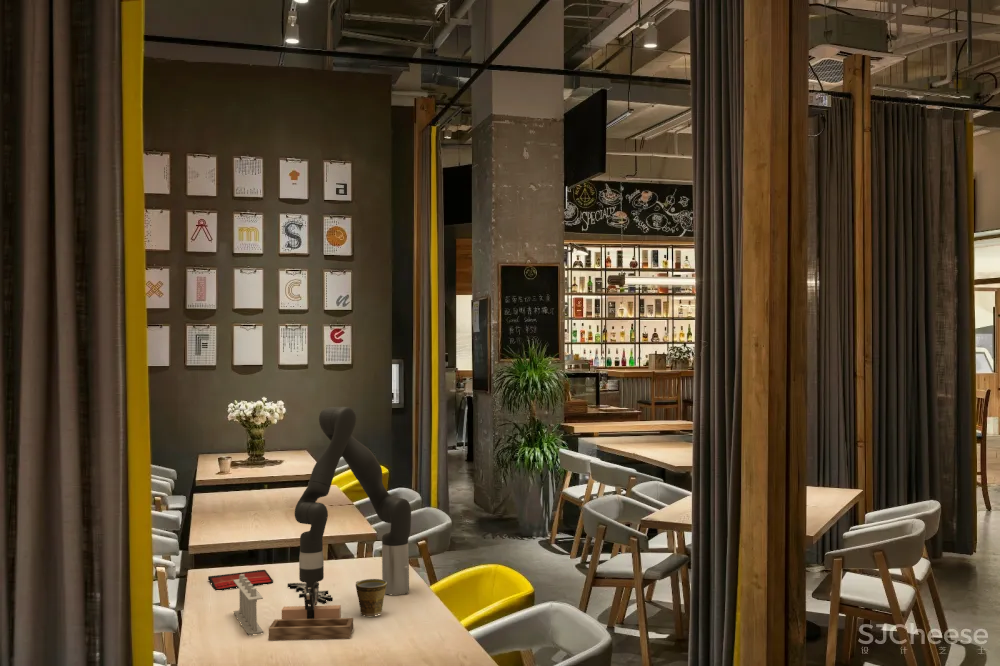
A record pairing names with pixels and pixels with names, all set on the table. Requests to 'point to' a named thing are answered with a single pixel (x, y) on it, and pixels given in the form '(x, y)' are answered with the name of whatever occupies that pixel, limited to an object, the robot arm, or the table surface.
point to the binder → (227, 580)
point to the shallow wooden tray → (311, 629)
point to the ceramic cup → (371, 596)
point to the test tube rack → (248, 605)
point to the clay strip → (319, 612)
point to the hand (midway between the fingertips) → (311, 619)
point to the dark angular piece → (300, 587)
